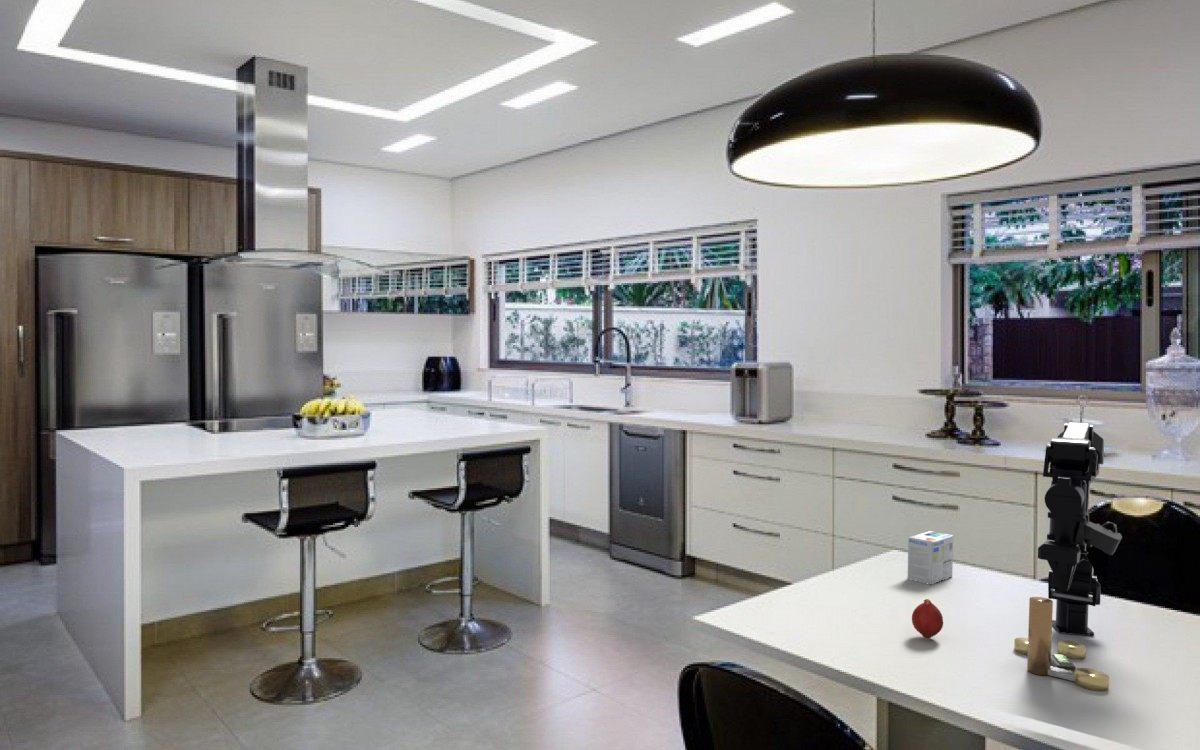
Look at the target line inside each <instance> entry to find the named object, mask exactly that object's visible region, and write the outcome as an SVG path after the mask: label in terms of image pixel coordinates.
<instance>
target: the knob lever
mask: <svg viewBox="0 0 1200 750" xmlns="http://www.w3.org/2000/svg"><path fill="white" fill-rule="evenodd" d="M1028 601H1029V602H1028V603H1029V604H1028V605H1029V606H1028V630H1027V631H1028V633H1027V634H1028V635H1027V638H1028V655H1027V659H1026V660H1027V663H1026V665H1027V666H1026V669H1027V671H1028V672H1030V673H1032V674H1035V675H1040V676H1052V677H1055V678H1059V679H1063V680H1067V681H1071V682H1074V683H1075V685H1076V686H1078V687H1080V688H1083V689H1086V690H1091V691H1096V692H1105V691H1107V690H1109V688H1110V686H1109V685H1110V676H1109V675H1108V674H1107V673H1105V672H1103V671H1101V670H1098V669H1095V668H1087V667H1080V668H1079V667H1078V668H1076V669H1075V672H1074V671H1069V670H1065V669H1061V668H1057V667H1052V665H1051V655H1052V642H1053V641H1052V638H1053V637H1052V636H1053V635H1052V634H1053V626H1052V620H1053V610H1054V609H1053V608H1054V607H1053V605H1054V601H1053V599H1048V597H1041V596H1031V597H1029V599H1028Z"/></svg>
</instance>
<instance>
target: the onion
mask: <svg viewBox="0 0 1200 750" xmlns="http://www.w3.org/2000/svg"><path fill="white" fill-rule="evenodd" d="M943 618H944V617H943V614H942V613H941V611H940V609H939V608H938V607H937V606H936V605H934V603H932V601H931V600H930V599H929V598H926V599H924V600H923V602H921V603H920V604H918V605H917V606H916V607H915V608H914V610H913V612H912V615H911V623H912V626H913V628H914V630H916V631H917V633H919V634H920V635H921V636H922V637H923V638H924V639H927V640H928V639H930V638H932V637H934V636H936V635H938V634H939V633H940V632H941V631H942V629H943V627H944V619H943Z"/></svg>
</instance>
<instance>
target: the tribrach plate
mask: <svg viewBox="0 0 1200 750" xmlns="http://www.w3.org/2000/svg"><path fill="white" fill-rule="evenodd" d="M1013 645H1014V647H1013V649H1014V651H1015V652H1017V653H1018V654H1021V655H1025V656H1028V637H1015V639H1014V644H1013ZM1070 659H1072V660H1084V659H1086V646H1085V645H1084V644H1081V643H1078V642H1075V641H1069V640H1061V641H1058V642H1057V654H1056V653H1053V654H1051V666H1052V667H1057V668H1061V669H1065V670H1069V671H1074V672H1075V669H1077V667H1076V665H1075V664H1074V663H1073V662H1072V661H1071V660H1070Z"/></svg>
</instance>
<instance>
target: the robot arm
mask: <svg viewBox="0 0 1200 750" xmlns="http://www.w3.org/2000/svg"><path fill="white" fill-rule="evenodd" d="M1104 441H1105V440H1104V438H1102V436H1100V435H1099V434H1098V433H1096V431H1094V425H1093V424H1090V423H1083V422H1068V423H1064V428H1063V431H1062V432H1061V433H1060V434H1058V435H1057V437H1053V438H1052V439H1051V440H1050V443H1048V444H1046V446H1045V453H1044V463H1043V473H1042V477H1043V478H1051V479H1052V480H1051V482H1050V487H1049V488H1048V489H1047V490H1046V492H1045V495H1044V503H1045V507H1046V508H1047V510H1049V511H1048V512H1047V518H1048V519H1049V531H1048V533H1047V534H1046V541H1045V542H1043V543H1042V544H1041V545H1039V546H1038V547H1037V559H1039V560H1043V561H1047V563H1048V565H1049V567H1050V568H1049V571H1048V576H1047V577H1048V578H1047V580H1048V581H1047V584H1048V585H1047V586H1048V587H1047V589H1048V591H1047V594H1048V597H1047V599H1050V600H1055V601H1056V602H1055V603H1056V604H1055V620H1053V619H1052V628H1054V629H1055V630H1056V632H1058V633H1060V634H1066V635H1067V634H1070V635H1081V636H1082V635H1083V636H1095V632H1094V631H1093V630H1092V629H1091V628H1089V606H1092V607H1097V606H1099V605H1101V583H1100V582H1099V581H1098V580H1099V579H1098V578H1097V577H1098V576H1097V575H1094V567H1093V565H1092V563H1091V561H1090V560H1089V558H1088V556H1087V555H1088V554H1089V551H1087V548H1092V547H1094V548H1096V549H1099V550H1101V551H1102V553H1104V554H1107V555H1109V556H1113V555H1114V553H1115V552H1116V550H1117V549H1118V546H1119V544H1120V543H1121V540H1122V539H1123V535H1122V533H1119V532H1118V527H1117V524H1115V523H1113V522H1111V521H1107V522H1105V523H1103V524H1102V525H1101V524H1100V523H1095V522H1092V521H1090V514H1089V504H1090V488H1091V487H1090V486H1091V484H1092V483H1093V481H1094V480H1095V479H1096V478H1097V476H1099V474H1100V467H1101V465H1104V461H1105V443H1104Z"/></svg>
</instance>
